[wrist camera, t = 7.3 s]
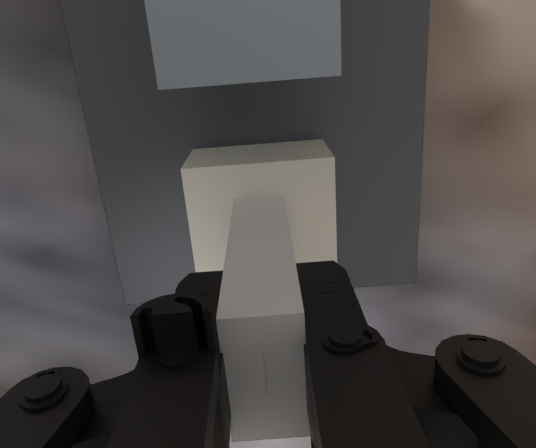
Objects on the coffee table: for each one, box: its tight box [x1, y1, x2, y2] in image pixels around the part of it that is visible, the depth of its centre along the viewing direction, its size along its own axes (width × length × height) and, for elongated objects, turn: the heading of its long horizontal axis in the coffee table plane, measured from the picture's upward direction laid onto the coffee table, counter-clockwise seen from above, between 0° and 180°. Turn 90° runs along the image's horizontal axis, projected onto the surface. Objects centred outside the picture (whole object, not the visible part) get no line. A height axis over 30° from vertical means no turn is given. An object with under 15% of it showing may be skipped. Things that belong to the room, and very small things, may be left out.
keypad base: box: [60, 0, 430, 305], centre depth 16 cm, size 12×22×2 cm, turn 4°
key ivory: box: [181, 139, 337, 272], centre depth 17 cm, size 5×5×5 cm
